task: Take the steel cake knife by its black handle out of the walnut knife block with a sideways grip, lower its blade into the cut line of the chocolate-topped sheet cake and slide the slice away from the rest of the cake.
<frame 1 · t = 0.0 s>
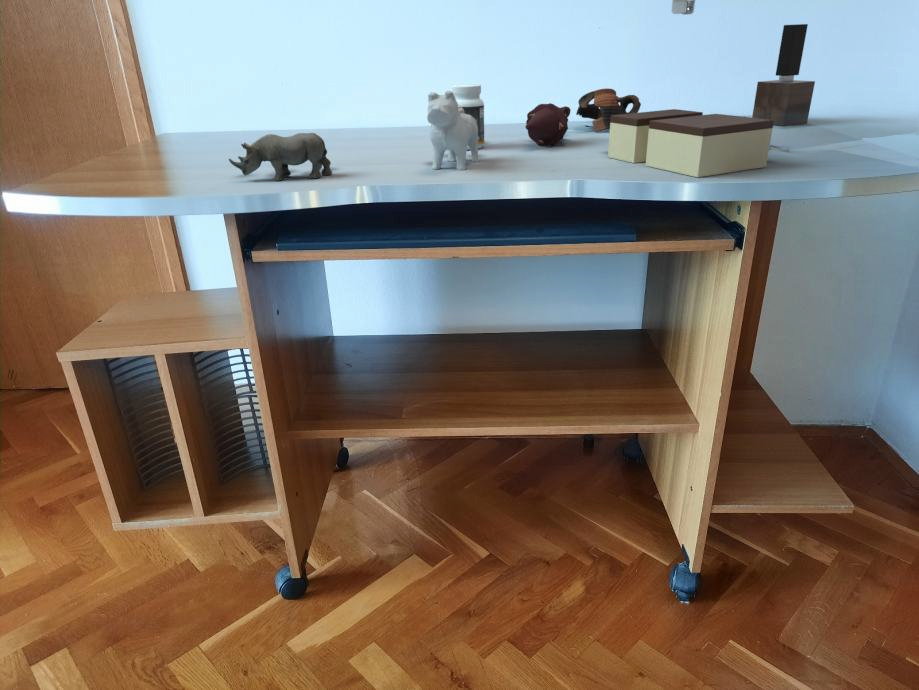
hand: (682, 14, 94), 19 cm above the table, tool pointing down, fingers open, 8 cm apart
dog figurine: (454, 167, 94), on the table
knife: (778, 123, 116), point 1 cm above the table, touching knife block
cake: (688, 163, 90), on the table
knife block: (777, 128, 116), on the table
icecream: (546, 146, 109), on the table
pottery mug: (606, 129, 124), on the table
rhino figurine: (283, 179, 90), on the table
cake slice: (652, 155, 96), on the table
pill bottle: (468, 149, 109), on the table
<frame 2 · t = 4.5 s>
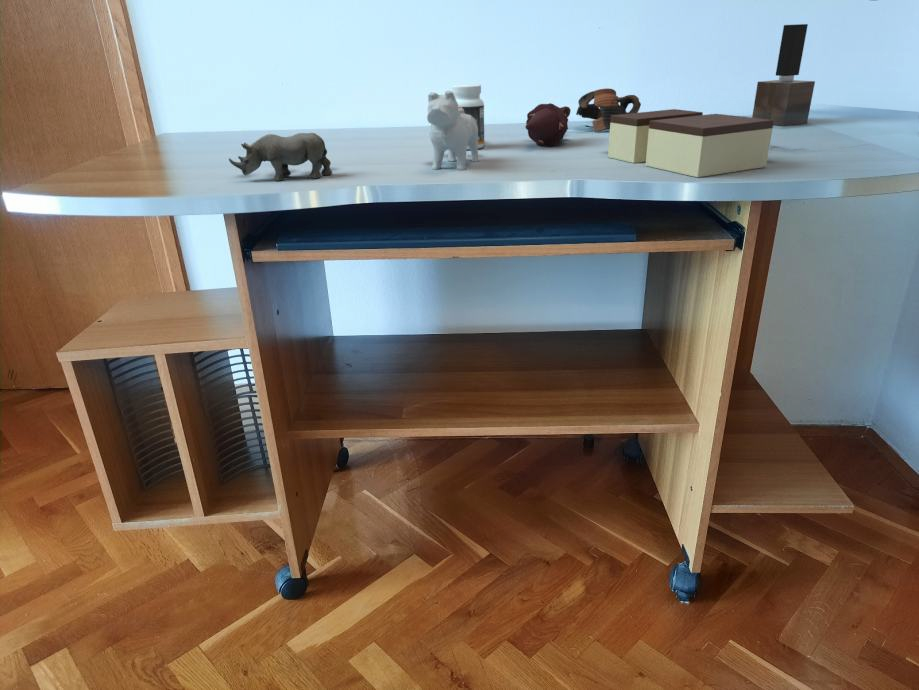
nothing on the table moved.
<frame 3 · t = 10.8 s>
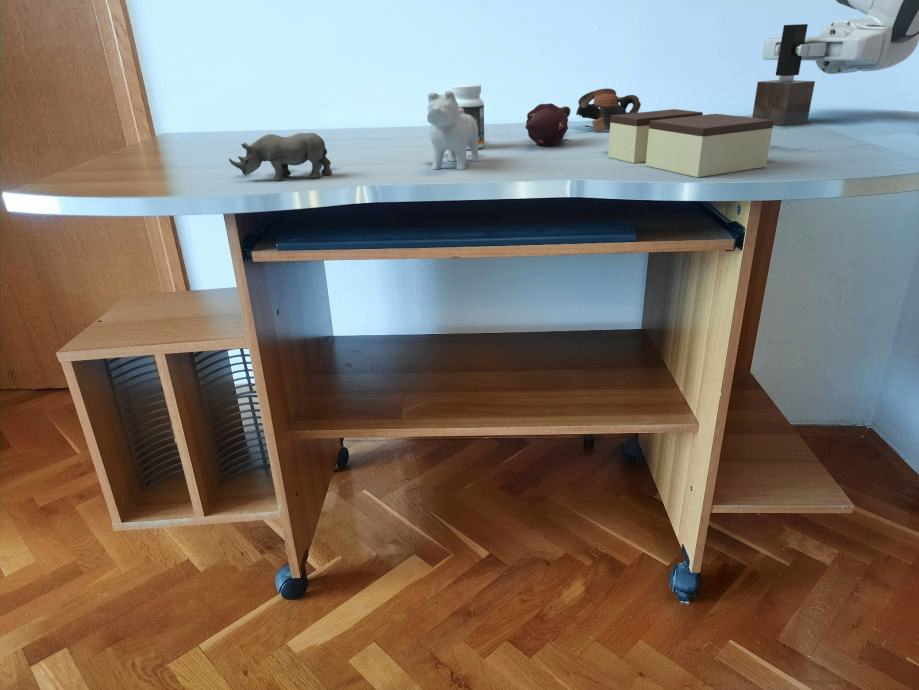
hand: (787, 50, 110), 13 cm above the table, tool horizontal, fingers closed on knife, 2 cm apart
knife: (778, 123, 116), point 1 cm above the table, touching gripper, knife block
everything else where it was.
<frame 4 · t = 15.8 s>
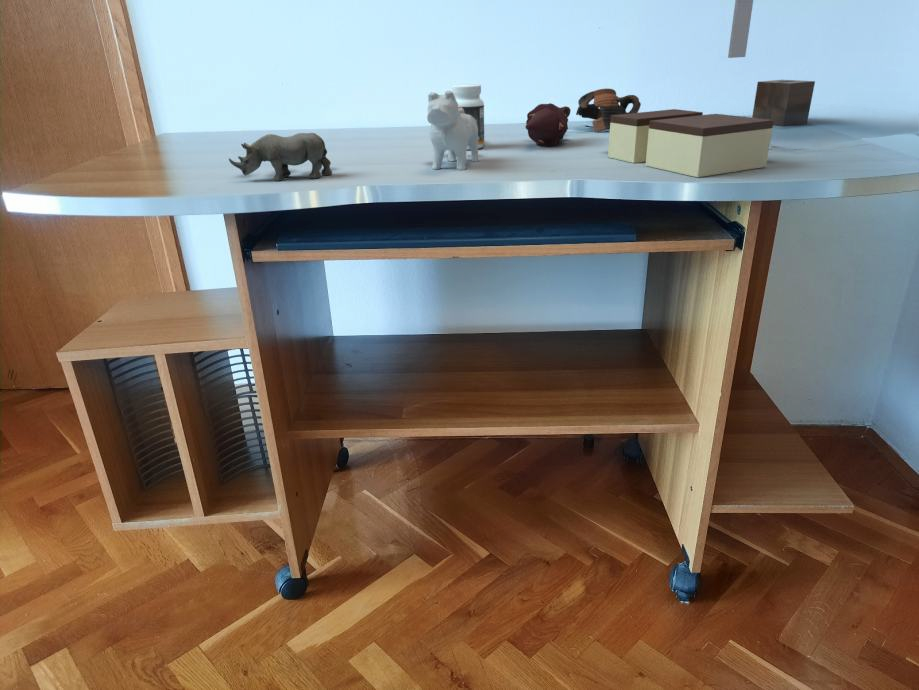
knife: (736, 57, 97), point 13 cm above the table, touching gripper
everything else where it was.
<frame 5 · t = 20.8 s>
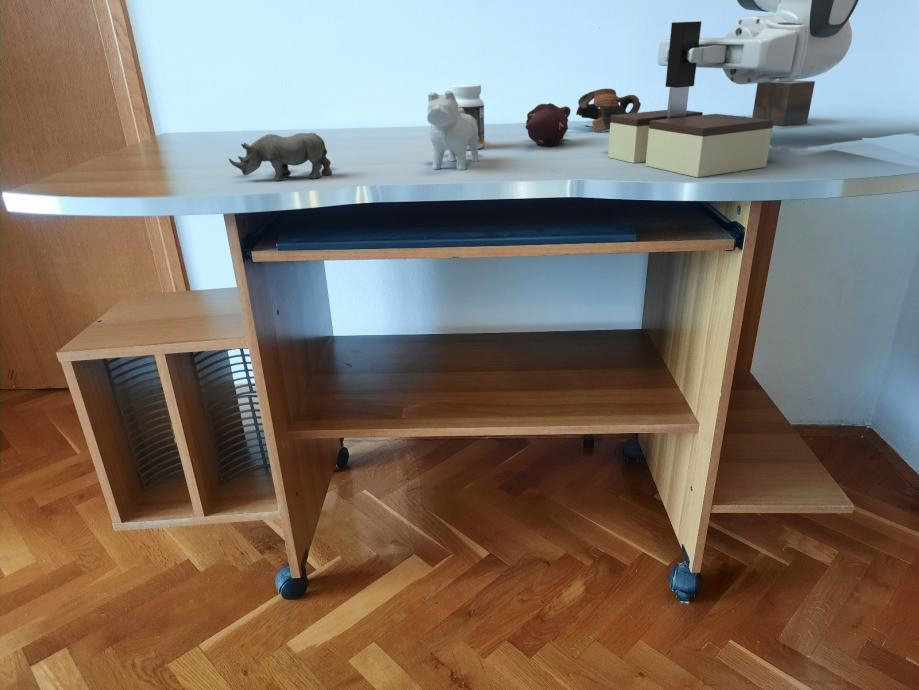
hand: (678, 55, 86), 14 cm above the table, tool horizontal, fingers closed on knife, 2 cm apart
knife: (673, 146, 92), point 2 cm above the table, touching gripper
everything else where it was.
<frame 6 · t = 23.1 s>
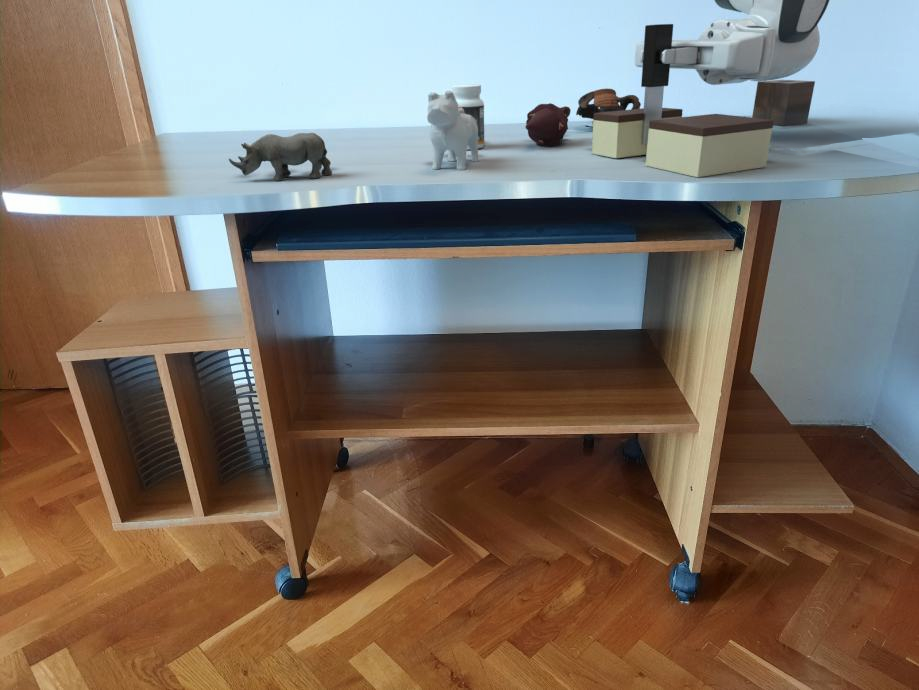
hand: (652, 56, 90), 14 cm above the table, tool horizontal, fingers closed on knife, 2 cm apart
knife: (650, 143, 96), point 2 cm above the table, touching cake slice, gripper
cake slice: (635, 152, 99), on the table, touching knife
everything else where it was.
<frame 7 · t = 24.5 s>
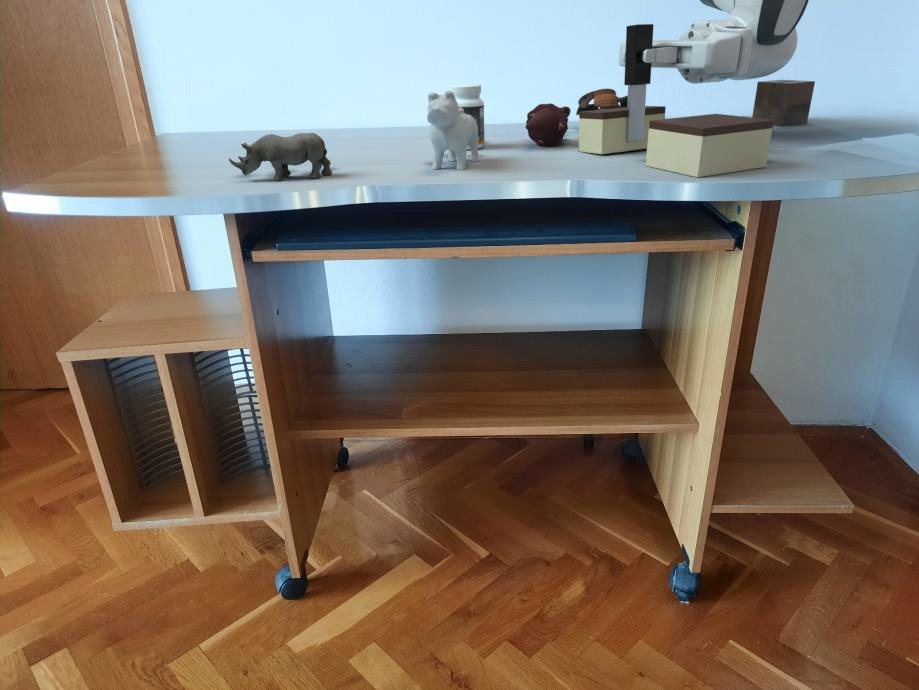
hand: (633, 56, 94), 14 cm above the table, tool horizontal, fingers closed on knife, 2 cm apart
knife: (634, 140, 99), point 2 cm above the table, touching cake slice, gripper
cake slice: (620, 148, 102), on the table, touching knife
everything else where it was.
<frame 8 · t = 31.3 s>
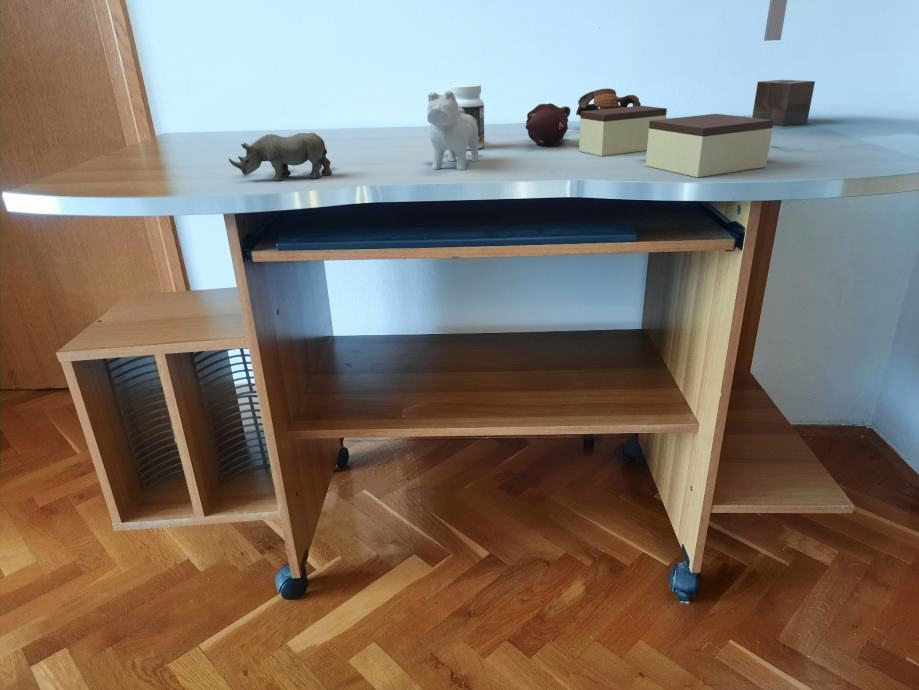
knife: (772, 40, 99), point 15 cm above the table, touching gripper
cake slice: (620, 149, 102), on the table
everything else where it was.
at the end: cake slice inside the target area on the table beside the cake (1.1 cm from its centre), on the table; cake slice tilted 0°; the gripper is holding knife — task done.
